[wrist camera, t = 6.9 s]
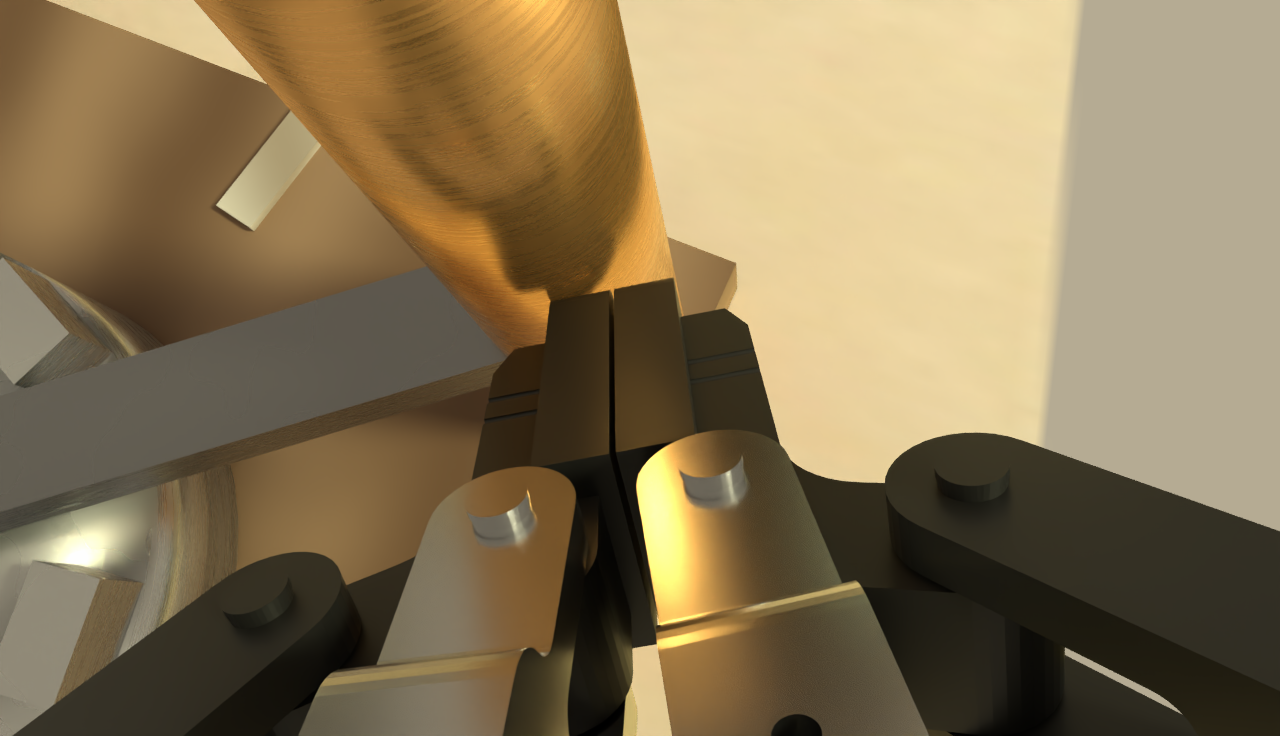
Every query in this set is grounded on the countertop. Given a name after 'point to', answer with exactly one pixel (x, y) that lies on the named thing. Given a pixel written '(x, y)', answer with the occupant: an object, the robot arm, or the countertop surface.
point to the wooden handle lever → (314, 305)
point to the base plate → (230, 257)
